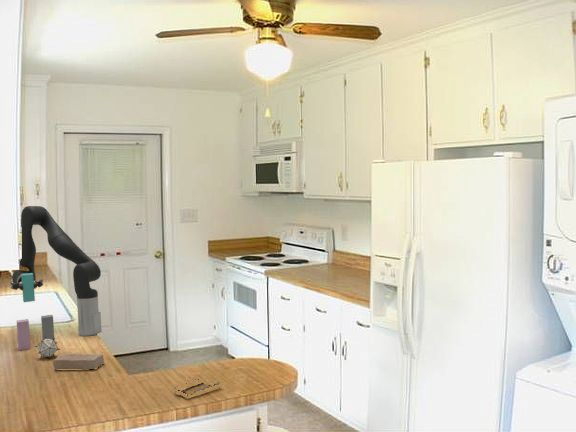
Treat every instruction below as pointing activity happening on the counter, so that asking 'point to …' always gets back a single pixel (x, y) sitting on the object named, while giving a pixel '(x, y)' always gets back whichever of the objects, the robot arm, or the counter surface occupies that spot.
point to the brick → (78, 361)
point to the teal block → (28, 287)
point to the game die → (47, 347)
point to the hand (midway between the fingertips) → (28, 286)
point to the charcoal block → (47, 327)
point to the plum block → (23, 334)
